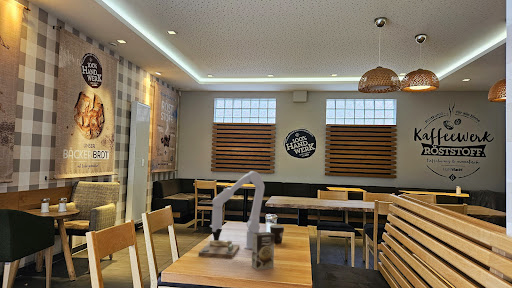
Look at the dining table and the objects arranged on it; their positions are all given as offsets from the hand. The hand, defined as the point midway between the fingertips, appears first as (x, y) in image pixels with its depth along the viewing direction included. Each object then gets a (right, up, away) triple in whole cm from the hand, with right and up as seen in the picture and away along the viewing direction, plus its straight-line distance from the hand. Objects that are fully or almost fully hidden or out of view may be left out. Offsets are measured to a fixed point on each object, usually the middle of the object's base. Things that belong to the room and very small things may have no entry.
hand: (216, 241), depth 199 cm
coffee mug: (+37, -5, +17) cm, 41 cm away
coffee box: (+26, -3, -32) cm, 41 cm away
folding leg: (+3, -1, -2) cm, 4 cm away
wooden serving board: (+3, -3, -8) cm, 9 cm away
